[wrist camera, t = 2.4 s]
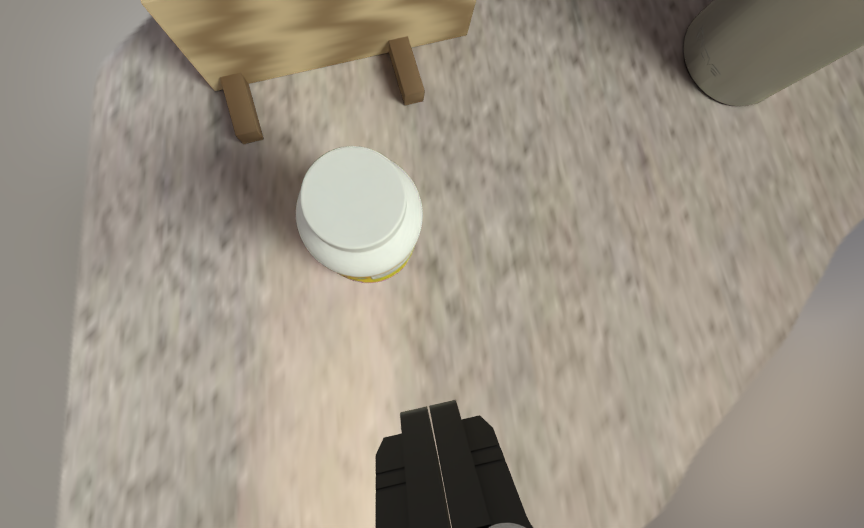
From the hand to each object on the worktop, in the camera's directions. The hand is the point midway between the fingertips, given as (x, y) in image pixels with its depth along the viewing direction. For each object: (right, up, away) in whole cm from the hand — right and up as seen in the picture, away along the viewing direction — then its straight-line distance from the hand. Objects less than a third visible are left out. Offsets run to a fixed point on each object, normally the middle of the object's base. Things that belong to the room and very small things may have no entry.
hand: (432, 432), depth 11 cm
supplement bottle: (-5, +6, +20) cm, 22 cm away
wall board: (-6, +19, +21) cm, 29 cm away
